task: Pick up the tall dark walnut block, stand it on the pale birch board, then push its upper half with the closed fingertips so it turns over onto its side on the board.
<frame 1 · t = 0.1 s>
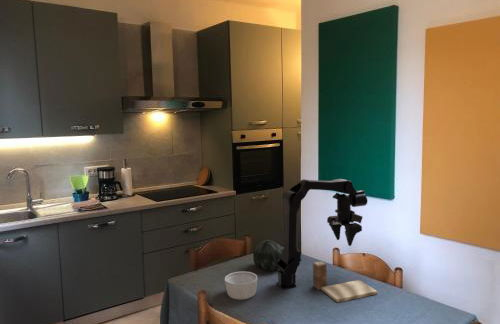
hand: (343, 242, 177), 15 cm above the table, fingers open, 9 cm apart
squash: (269, 268, 190), on the table
birch board: (348, 292, 161), on the table
ramekin: (241, 294, 163), on the table
walnut block: (319, 286, 167), on the table
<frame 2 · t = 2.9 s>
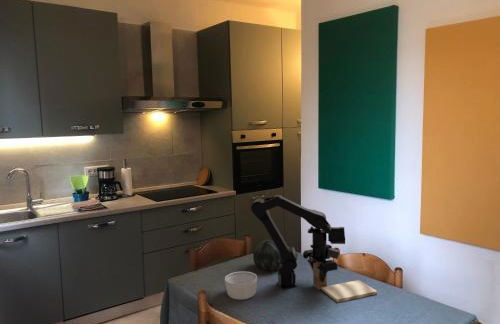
hand: (319, 279, 167), 3 cm above the table, fingers closed on walnut block, 4 cm apart
walnut block: (320, 286, 167), on the table, touching gripper
everything else where it was.
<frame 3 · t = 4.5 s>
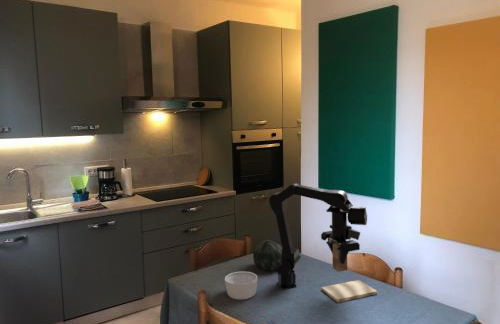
hand: (339, 261, 159), 13 cm above the table, fingers closed on walnut block, 4 cm apart
walnut block: (340, 269, 159), point 10 cm above the table, touching gripper
everything else where it was.
when the fingers open (5 cm above the table, at t = 6.1 s): walnut block stays where it is, resting on birch board.
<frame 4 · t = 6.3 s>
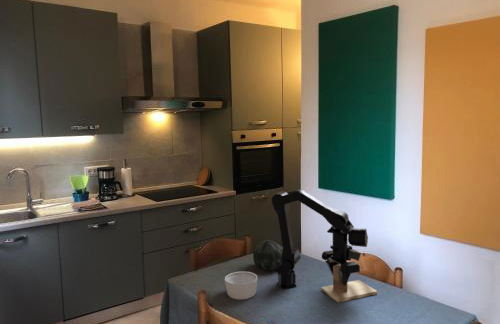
hand: (340, 282, 159), 5 cm above the table, fingers open, 6 cm apart
walnut block: (340, 290, 160), point 1 cm above the table, touching birch board
everything else where it was.
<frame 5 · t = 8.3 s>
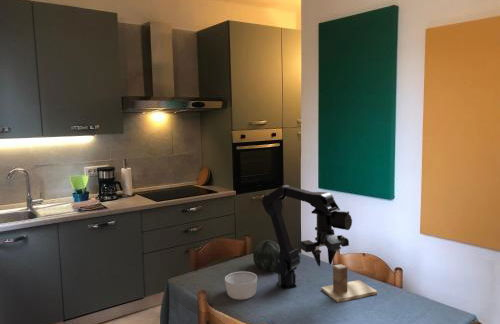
hand: (324, 265, 156), 13 cm above the table, fingers open, 5 cm apart
nothing on the table moved.
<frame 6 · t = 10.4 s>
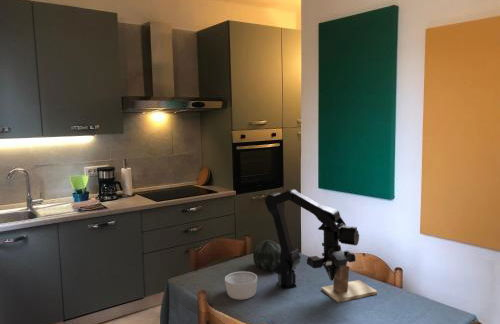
hand: (331, 280, 158), 6 cm above the table, fingers closed
walnut block: (340, 290, 160), point 1 cm above the table, tilted 5°, touching birch board, gripper
everything else where it was.
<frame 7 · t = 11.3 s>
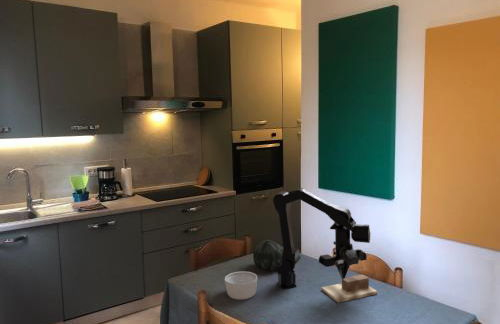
hand: (343, 278, 160), 6 cm above the table, fingers closed
walnut block: (344, 285, 160), point 3 cm above the table, tilted 90°, touching birch board
everything else where it was.
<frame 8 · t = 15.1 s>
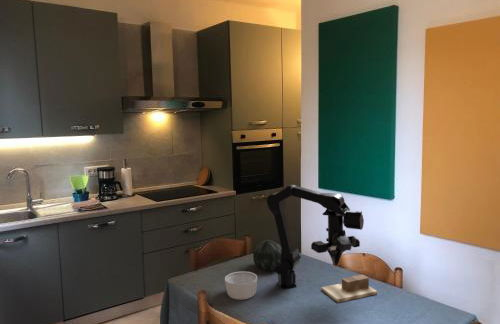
hand: (335, 265, 158), 12 cm above the table, fingers closed
nothing on the table moved.
at the end: walnut block tilted 90°; walnut block inside the target area (5.9 cm from its centre), point 3.2 cm above the table; the gripper is holding nothing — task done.
